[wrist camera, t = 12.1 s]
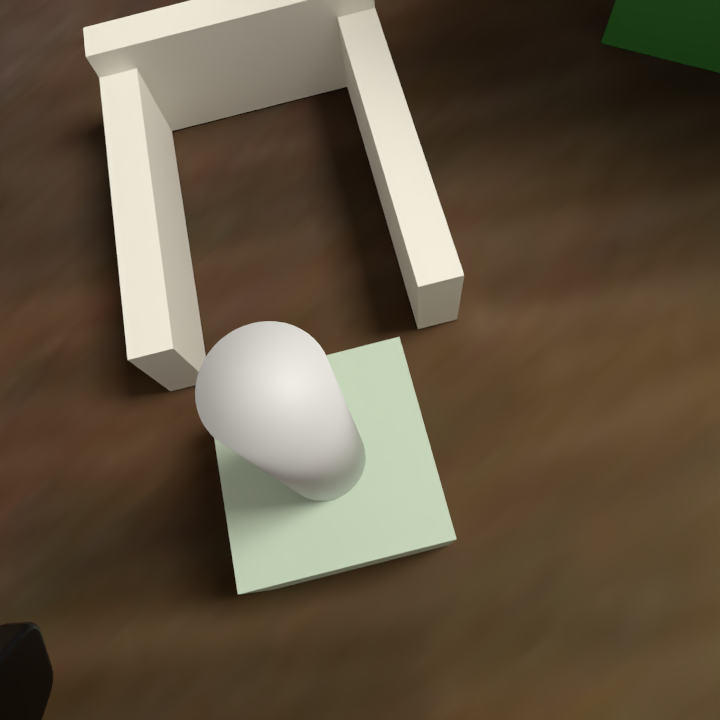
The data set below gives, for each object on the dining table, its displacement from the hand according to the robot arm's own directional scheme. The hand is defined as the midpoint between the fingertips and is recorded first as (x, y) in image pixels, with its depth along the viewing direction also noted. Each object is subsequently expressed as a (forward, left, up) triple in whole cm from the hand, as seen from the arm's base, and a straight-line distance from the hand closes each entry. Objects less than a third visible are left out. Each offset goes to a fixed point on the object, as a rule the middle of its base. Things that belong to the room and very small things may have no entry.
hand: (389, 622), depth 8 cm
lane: (+7, +13, -12) cm, 19 cm away
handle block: (+1, +4, -12) cm, 13 cm away
